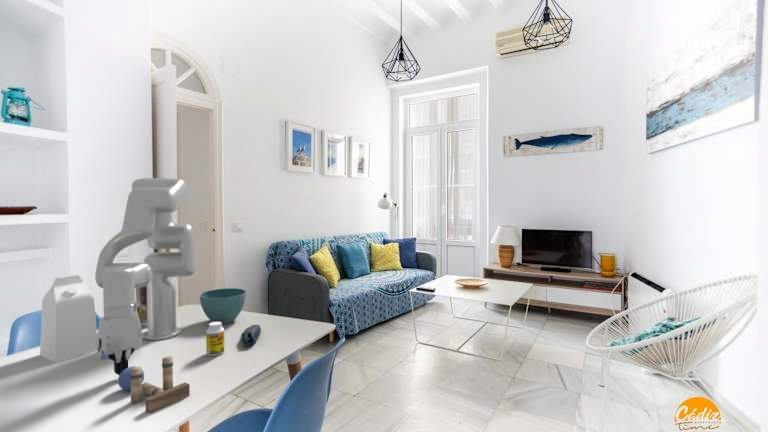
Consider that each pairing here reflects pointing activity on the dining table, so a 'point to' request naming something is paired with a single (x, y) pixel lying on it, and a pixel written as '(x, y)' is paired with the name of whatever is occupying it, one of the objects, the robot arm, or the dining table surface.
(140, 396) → the back right pin
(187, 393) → the back wall
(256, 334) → the fish model
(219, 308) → the teal bowl
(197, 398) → the dining table surface
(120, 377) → the ball
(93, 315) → the milk
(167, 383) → the back left pin
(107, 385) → the dining table surface
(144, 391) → the front pin
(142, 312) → the coffee box
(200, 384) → the dining table surface
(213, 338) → the supplement bottle
